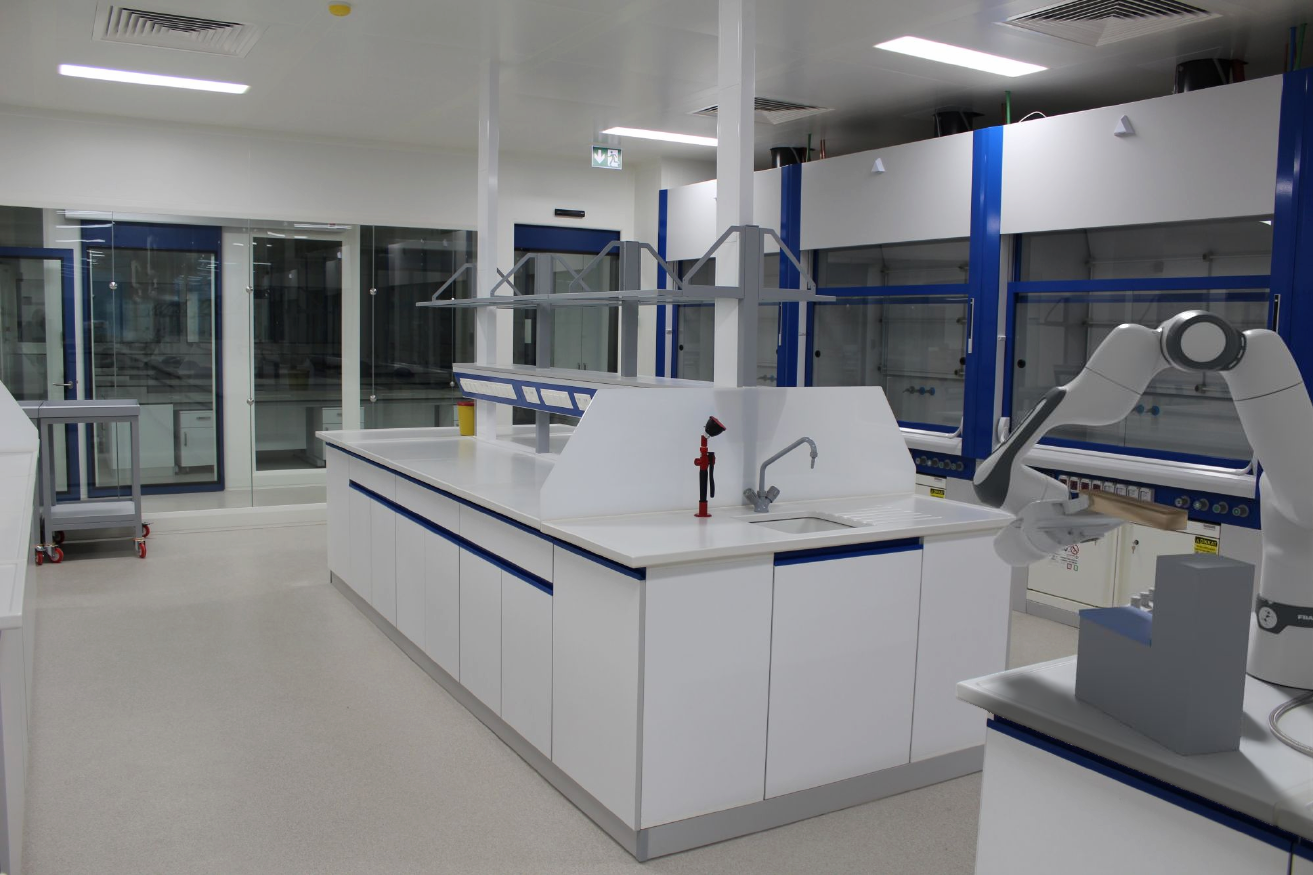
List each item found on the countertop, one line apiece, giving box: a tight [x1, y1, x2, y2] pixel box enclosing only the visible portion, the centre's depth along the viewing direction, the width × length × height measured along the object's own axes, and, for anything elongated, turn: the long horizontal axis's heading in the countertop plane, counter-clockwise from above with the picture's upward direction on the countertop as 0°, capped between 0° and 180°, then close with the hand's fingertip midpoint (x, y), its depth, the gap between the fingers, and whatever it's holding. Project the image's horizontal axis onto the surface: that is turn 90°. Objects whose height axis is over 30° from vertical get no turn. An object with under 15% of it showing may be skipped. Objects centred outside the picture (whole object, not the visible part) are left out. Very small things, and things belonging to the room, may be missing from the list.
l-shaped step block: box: [1074, 552, 1256, 757], centre depth 155 cm, size 10×24×28 cm, turn 15°
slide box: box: [1078, 488, 1189, 532], centre depth 161 cm, size 4×20×3 cm, turn 15°
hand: (1103, 499), depth 167 cm, fingers closed on slide box, 4 cm apart
